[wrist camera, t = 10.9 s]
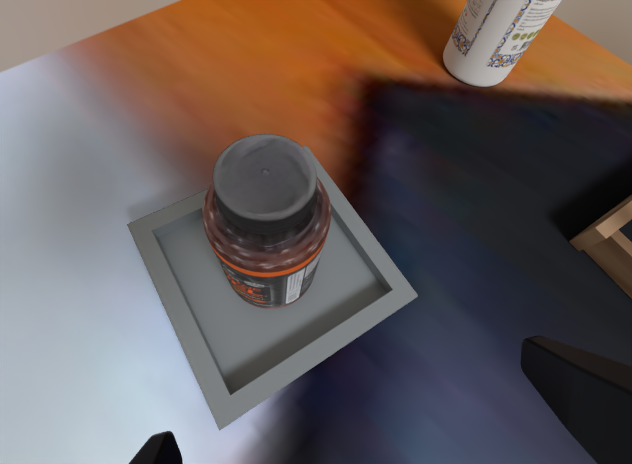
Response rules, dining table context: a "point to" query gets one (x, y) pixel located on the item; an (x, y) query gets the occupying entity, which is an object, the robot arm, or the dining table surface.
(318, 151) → the dining table surface
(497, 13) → the bath foam
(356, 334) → the tray
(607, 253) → the frame
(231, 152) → the supplement bottle
